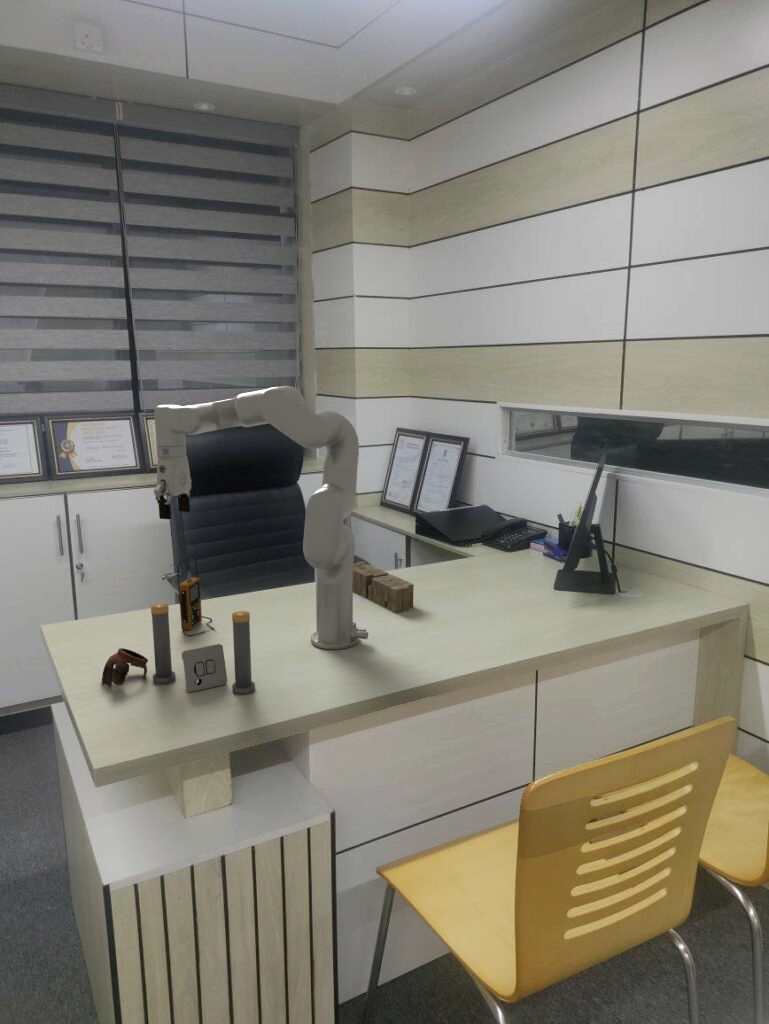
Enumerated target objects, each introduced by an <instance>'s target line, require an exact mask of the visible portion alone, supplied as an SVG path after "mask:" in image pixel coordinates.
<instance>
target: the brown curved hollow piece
mask: <svg viewBox="0 0 769 1024" xmlns="http://www.w3.org/2000/svg"><path fill="white" fill-rule="evenodd" d="M148 662H149V660H148V658H146V657H145V656H144V655H142V654H140V653H138V652H136V651H134V650H131V649H127V648H122V647H121V648H118V649H117V652H116V653H114V654H112V655H111V656H109V657H108V659H107V660H106V662H105V665H104V668H103V672H102V676H101V677H102V678H101V683H102V684H103V685H105V686H107V687H109V688H112V687H113V686H112V685H113V684H114V685H116V686H121V685H124V683H125V682H126V681H125V680H126V677H127V675H128V673H129V672H130V666H131V667H136V668H141V669H143V675H142V678H143V679H146V677H147V674H148V667H147V663H148Z"/></svg>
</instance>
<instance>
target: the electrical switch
mask: <svg viewBox="0 0 769 1024" xmlns="http://www.w3.org/2000/svg"><path fill="white" fill-rule="evenodd" d="M181 660H182V661H183V662H182V663H183V669H184V670H183V671H184V678H185V690H186V691H187V692H188V693H193V692H197V691H201V690H206V689H210V688H214V687H219V686H223V685H226V684H227V683H228V676H227V675H228V674H227V667H226V661H225V655H224V647H223V645H222V644H221V643H216V644H210V645H206V646H201V647H196V648H191V649H186V650H183V651H182V652H181ZM197 680H198V681H197Z"/></svg>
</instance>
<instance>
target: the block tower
mask: <svg viewBox="0 0 769 1024" xmlns="http://www.w3.org/2000/svg"><path fill="white" fill-rule="evenodd" d="M414 590H415V589H414V583H412V582H409V581H408V580H405V579H402V578H401V577H398V576H396V575H393V574H390V573H389V572H388V571H385V570H382V569H381V568H378V567H375V566H373V565H370V564H367V562H366V561H359V562H353V593H354V594H356V595H358V596H360V597H362V598H364V599H368V601H370V602H372V603H374V604H376V605H378V606H380V607H381V608H384V609H385V608H386V609H387V611H390V612H391V613H393V614H400V613H403V612H408V611H410V609H412V608H414Z"/></svg>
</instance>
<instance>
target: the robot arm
mask: <svg viewBox="0 0 769 1024" xmlns="http://www.w3.org/2000/svg"><path fill="white" fill-rule="evenodd" d="M267 424H270V425H271V426H273V427H274V428H275V429H277V431H279V432H281V433H282V434H284V435H285V436H287V437H288V438H289V439H291V440H292V441H293V442H295V443H297V444H298V445H299V446H302V447H304V448H306V449H310V450H319V449H321V448H323V447H325V448H326V449H325V450H326V454H325V458H324V462H323V467H322V468H323V470H322V471H323V473H322V481H321V487H320V488H318V489H316V490H315V491H313V493H312V494H311V495H310V497H309V498H308V501H307V503H306V508H305V518H304V529H303V530H304V531H303V540H302V542H303V543H302V544H303V545H302V551H303V555H304V559H305V560H306V562H307V563H308V564H309V565H310V566H311V567H312V568H314V569H315V609H316V613H315V614H316V615H315V617H316V631H315V632H313V633H312V634H311V636H310V642H311V644H312V645H314V646H315V647H317V648H320V649H323V650H326V649H327V650H341V649H342V650H343V649H347V648H351V647H353V646H355V645H357V644H358V642H359V640H361V639H362V640H368V638H369V632H368V631H367V629H366V628H358V627H357V622H354V618H353V617H354V615H353V612H354V611H353V610H354V609H353V608H354V606H353V602H354V601H353V593H354V592H353V563H354V558H355V550H356V549H355V547H356V542H355V535H354V533H353V531H352V529H351V528H350V527H348V525H347V524H345V523H344V520H345V519H346V518H348V517H349V516H350V515H351V514H352V512H353V511H354V509H355V506H356V505H355V503H356V493H357V492H356V491H357V479H358V466H359V456H360V443H359V437H358V433H357V431H356V429H355V427H354V425H353V424H352V423H351V422H350V420H349V419H348V418H346V417H345V416H343V415H342V414H340V413H339V412H336V411H332V410H320V411H317V412H313V411H312V410H310V409H309V408H307V407H305V399H304V396H303V394H302V392H301V391H300V390H299V389H297V388H296V387H293V386H290V385H282V386H273V387H269V388H267V389H266V388H265V389H262V390H261V389H260V390H255V391H251V392H250V391H249V392H244V393H243V392H242V393H240V394H238V395H237V396H235V397H234V398H233V397H232V398H228V399H223V400H217V401H212V402H206V403H205V402H204V403H196V404H191V405H184V406H181V405H180V404H160V405H157V406H156V407H154V429H155V430H154V431H155V444H156V447H155V448H156V457H157V458H156V459H157V464H156V486H155V488H154V489H153V494H154V495H155V500H156V501H157V502H156V503H157V505H158V517H159V519H160V520H171V519H172V508H171V504H170V501H171V498H172V497H177V505H178V511H179V512H182V513H183V512H184V513H187V512H188V513H189V512H191V505H190V496H191V490H192V478H191V471H190V465H189V459H188V455H187V443H186V441H187V440H186V439H187V438H186V435H188V436H190V435H191V436H192V435H193V436H194V435H199V434H203V433H208V432H213V431H214V432H215V431H219V430H225V429H230V428H236V427H243V428H250V427H256V426H261V425H267Z"/></svg>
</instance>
